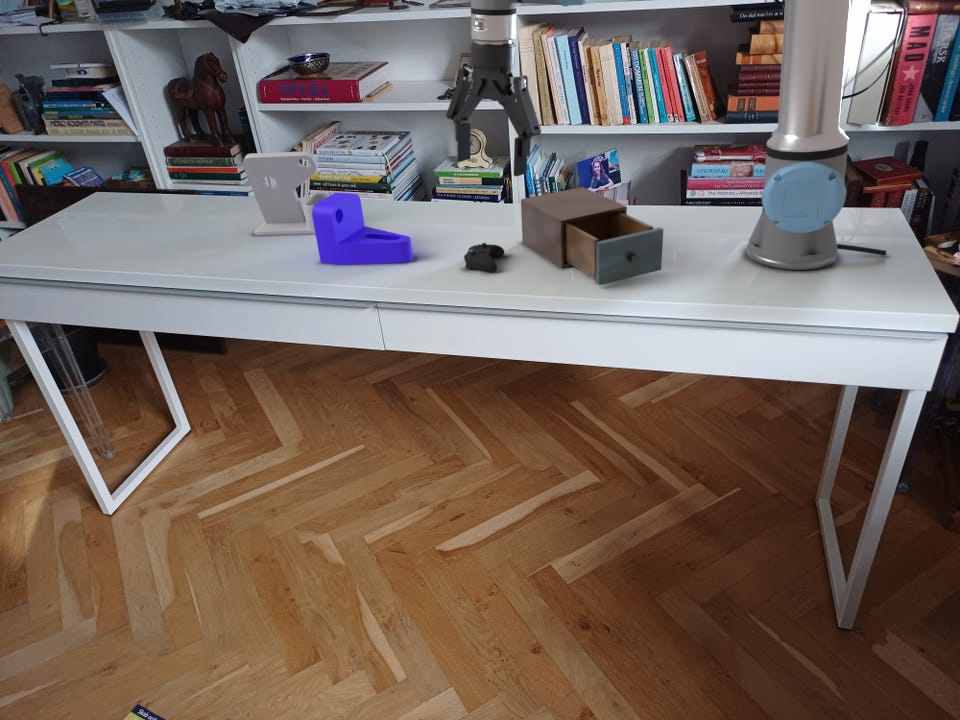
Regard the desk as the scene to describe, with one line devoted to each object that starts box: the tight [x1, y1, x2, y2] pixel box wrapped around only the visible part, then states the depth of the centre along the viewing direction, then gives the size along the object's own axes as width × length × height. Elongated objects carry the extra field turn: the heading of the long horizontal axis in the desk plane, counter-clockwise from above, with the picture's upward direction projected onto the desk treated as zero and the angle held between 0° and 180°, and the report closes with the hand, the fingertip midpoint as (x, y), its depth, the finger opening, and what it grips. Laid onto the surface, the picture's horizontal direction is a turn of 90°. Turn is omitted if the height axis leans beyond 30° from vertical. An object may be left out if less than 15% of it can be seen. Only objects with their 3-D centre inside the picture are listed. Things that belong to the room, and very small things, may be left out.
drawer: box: [563, 211, 664, 286], centre depth 134 cm, size 16×13×8 cm
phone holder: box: [242, 150, 331, 236], centre depth 166 cm, size 17×10×18 cm, turn 84°
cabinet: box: [520, 186, 628, 269], centre depth 145 cm, size 16×14×9 cm
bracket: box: [312, 192, 414, 266], centre depth 148 cm, size 18×11×12 cm, turn 68°
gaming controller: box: [463, 242, 505, 273], centre depth 142 cm, size 10×5×6 cm
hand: (491, 167), depth 135 cm, fingers open, 13 cm apart
